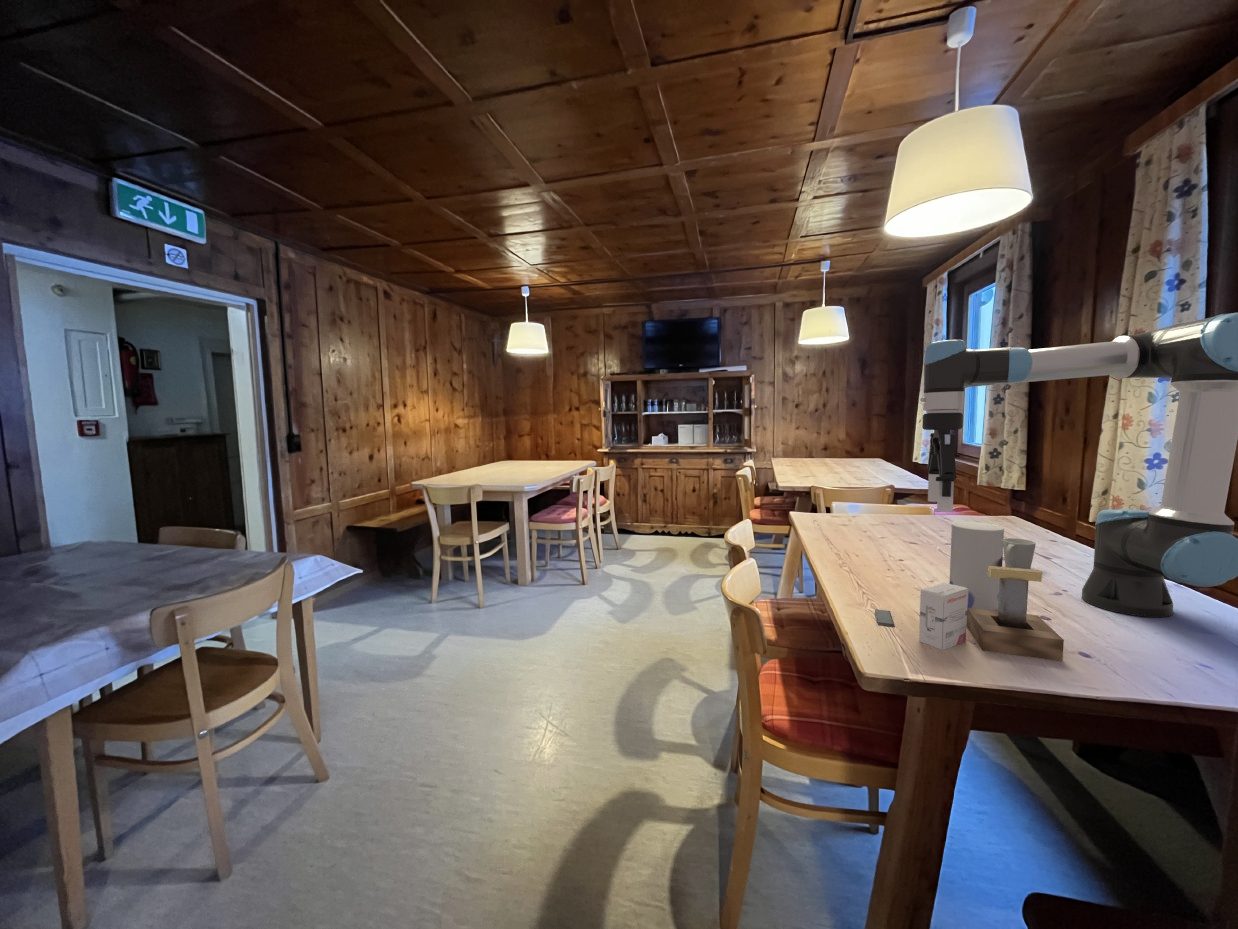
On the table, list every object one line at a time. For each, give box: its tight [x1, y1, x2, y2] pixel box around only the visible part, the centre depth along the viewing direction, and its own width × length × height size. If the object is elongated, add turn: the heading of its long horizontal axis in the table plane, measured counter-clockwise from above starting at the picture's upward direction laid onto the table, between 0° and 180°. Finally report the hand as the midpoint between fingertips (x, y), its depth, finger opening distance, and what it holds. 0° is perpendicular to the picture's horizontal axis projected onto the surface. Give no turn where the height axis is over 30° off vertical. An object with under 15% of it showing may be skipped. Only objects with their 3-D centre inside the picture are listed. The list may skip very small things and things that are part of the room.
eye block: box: [966, 608, 1065, 662], centre depth 97 cm, size 12×12×5 cm
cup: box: [1003, 537, 1036, 569], centre depth 145 cm, size 8×10×8 cm
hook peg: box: [988, 566, 1043, 629], centre depth 97 cm, size 8×4×15 cm, turn 67°
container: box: [949, 520, 1005, 611], centre depth 117 cm, size 10×10×20 cm
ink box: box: [918, 582, 968, 651], centre depth 98 cm, size 9×5×12 cm, turn 118°
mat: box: [874, 608, 896, 628], centre depth 111 cm, size 8×8×1 cm
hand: (939, 506), depth 111 cm, fingers open, 13 cm apart
